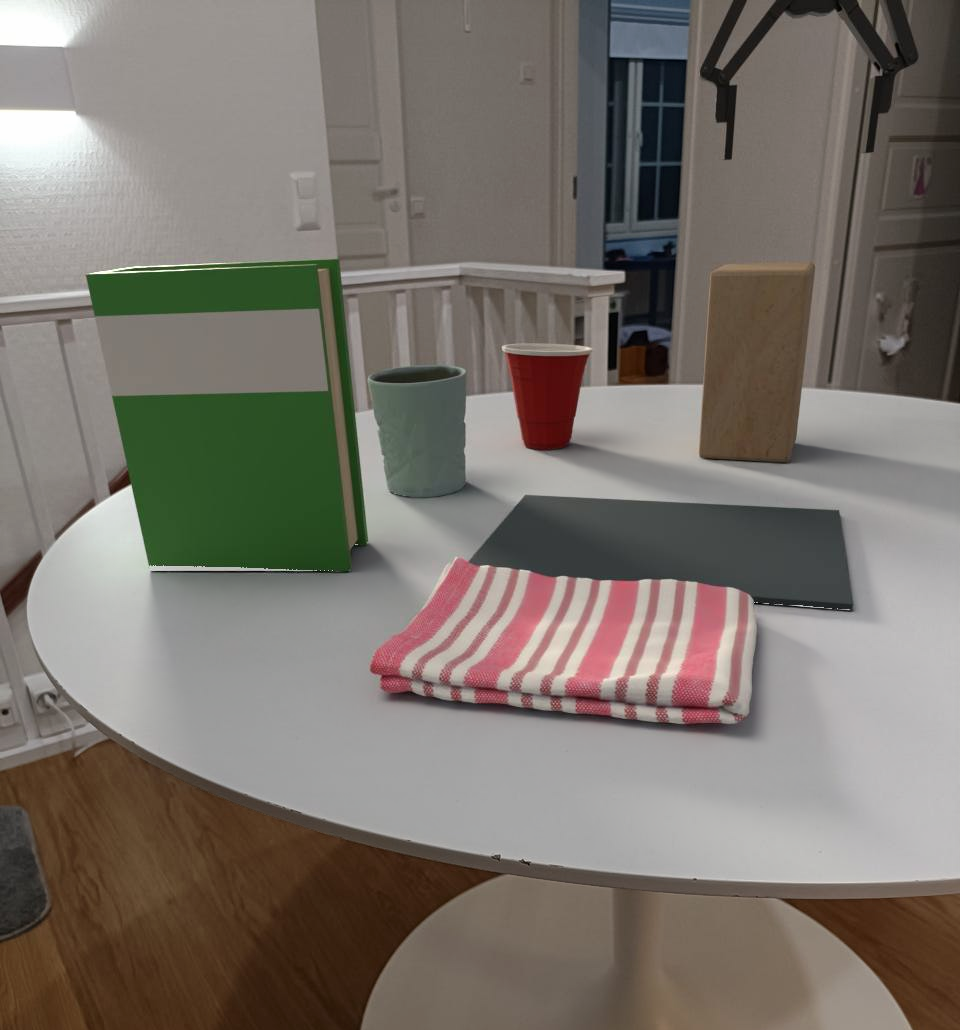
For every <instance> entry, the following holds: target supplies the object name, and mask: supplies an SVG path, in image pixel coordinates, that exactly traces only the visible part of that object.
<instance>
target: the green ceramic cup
mask: <svg viewBox="0 0 960 1030" xmlns="http://www.w3.org/2000/svg"><path fill="white" fill-rule="evenodd" d="M467 372H468V371H467V370H466V369H465V368H463V367H460V366H455V365H449V364H448V365H446V364H420V365H419V364H418V365H410V366H409V365H408V366H400V367H393V368H388V369H383V370H380V371H377V372H373V373H371V374H370V375H368V377H367V385H368V389H369V390H368V391H369V395H370V399H371V405H372V410H373V415H374V419H375V421H376V425H377V426H378V429H377V437H378V441H379V446H380V452H381V455H382V456H383V462H382V463H383V470H384V475H385V482H386V487H387V490H388V491H389V490H390V491H391V492H393V493H396V494H398V495H397V496H399V495H405V496H411V497H410V498H433V497H442V496H447V495H451V494H454V493H455V492H458V491H460V490H462V489H463V488H464V487H465V485H466V481H467V477H466V476H467V473H466V472H467V471H466V470H467V469H466V468H467V466H466V461H467V460H466V454H465V448H466V443H467V442H466V441H467V439H466V435H467V432H466V431H467V429H466V428H467V426H466V422H465V417H466V412H467V411H466V410H467V409H466V408H467V405H466V404H467V375H468V373H467ZM390 491H389V492H390ZM391 492H390V493H391ZM393 493H392V494H393Z"/></svg>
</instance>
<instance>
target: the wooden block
mask: <svg viewBox="0 0 960 1030" xmlns="http://www.w3.org/2000/svg"><path fill="white" fill-rule="evenodd" d="M815 273H816V265H815V263H813V262H767V263H766V262H765V263H764V262H763V263H759V262H757V263H726V264H723V265H722V266H720V267H718V268H717V269H715V270H713V271H711V273H710V275H709V289H708V304H707V317H706V318H707V320H706V334H705V335H706V336H705V350H704V351H705V352H704V363H703V364H704V365H703V366H704V367H703V378H702V379H703V380H702V381H703V382H702V394H701V395H702V396H701V411H700V427H699V443H698V444H699V445H698V455H699V457H700V458H701V459H713V460H732V461H746V462H747V461H749V462H764V463H765V462H767V463H785V464H786V463H788V462H790V459H791V457H792V454H793V451H794V447H795V444H796V441H797V437H798V436H797V435H798V427H799V418H800V409H801V400H802V390H803V383H804V382H803V381H804V372H805V363H806V354H807V345H808V339H809V338H808V337H809V328H810V327H809V326H810V321H811V320H810V319H811V318H810V317H811V309H812V301H813V291H814V283H815Z"/></svg>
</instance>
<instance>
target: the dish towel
mask: <svg viewBox="0 0 960 1030" xmlns="http://www.w3.org/2000/svg"><path fill="white" fill-rule="evenodd" d="M468 561H469V560H466V559H465V558H462V557H459V556H456V557H454V559H453V561H452V562H449V563H447V564H446V565H445V567H444V569H443V571H442V573H441V574H440V576H439V577H438V579H437V582H436V584H435V586H434V588H433V589H432V591H431V593H430V595H429V597H428V598H427V600H426V602H425V603H424V604H423V606H422V608H421V610H419V612H418V613H417V614H416V615H415V616H414V617H413V618H412V620H411V621H410V622H409V623H408V624H407V626H405V628H403V629H402V631H400V632H398V634H395V635H392V636H391V637H389V638H388V639H386V640H385V641H384V642H383V643H382V644H381V645H380V646H379V647H378V648H377V649H375V651H374V652H373V654H372V658H371V660H370V661H369V672H370V674H373V675H377V676H381V677H380V679H379V688H380V689H381V691H383V692H384V693H391V694H392V693H393V694H399V693H403V692H413V693H415V694H416V695H419V696H422V697H433V698H437V699H440V700H443V701H444V700H445V701H449V702H454V701H458V702H464V703H471V704H502V705H508V706H512V707H518V708H523V709H525V708H528V709H535V710H540V711H550V712H551V711H556V712H562V713H569V714H576V715H577V714H578V715H579V714H586V715H600V716H610V717H613V718H618V719H624V720H637V721H644V722H650V723H651V722H652V723H671V724H677V725H689V724H691V725H692V724H723V725H724V724H728V725H730V724H732V725H733V724H734V725H735V724H739V723H741V722H743V721H744V720H746V719H747V717H748V716H749V714H750V702H751V699H752V693H753V684H752V683H753V681H752V679H753V674H752V673H753V668H754V667H753V665H754V656H755V651H756V645H757V634H758V627H757V616H756V613H755V612H756V611H755V604H754V600H753V599H752V597H751V596H750V595H749V594H747V593H745V592H743V591H740V590H738V589H735V588H731V587H717V586H711V585H706V584H701V583H698V582H689V581H685V582H683V581H678V580H672V579H663V580H652V579H644V580H639V581H612V580H605V581H603V580H600V581H598V580H593V579H589V578H572V577H567V576H559V577H555V578H554V577H547V576H543V575H539V574H536V573H533V572H531V571H528V570H515V569H510V568H500V567H492V566H489V565H486V566H479V567H478V566H475V565H473V564H470V563H469V562H468Z"/></svg>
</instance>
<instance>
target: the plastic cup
mask: <svg viewBox="0 0 960 1030" xmlns="http://www.w3.org/2000/svg"><path fill="white" fill-rule="evenodd" d="M501 350H502V351H503V352H504V355H505V358H506V364H507V367H508V373H509V374H510V380H511V382H510V383H511V387H512V392H513V399H514V404H515V410H516V416H517V419H518V423H519V429H520V435H521V440H522V443H523V445H524V447H526V448H527V449H533V450H542V451H544V450H545V451H546V450H547V451H548V450H549V451H550V450H557V449H564V448H566V447H568V446H570V444H571V439H572V436H573V430H574V424H575V423H574V422H575V417H576V414H577V409H578V404H579V398H580V393H581V388H582V387H581V386H582V381H583V376H584V373H585V370H586V365H587V363H588V358H589V357H590V355H591V354H592V353H593V351H594V348H593V347H589V346H585V345H577V344H567V343H566V344H565V343H510V344H505V345H502V346H501Z"/></svg>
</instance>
